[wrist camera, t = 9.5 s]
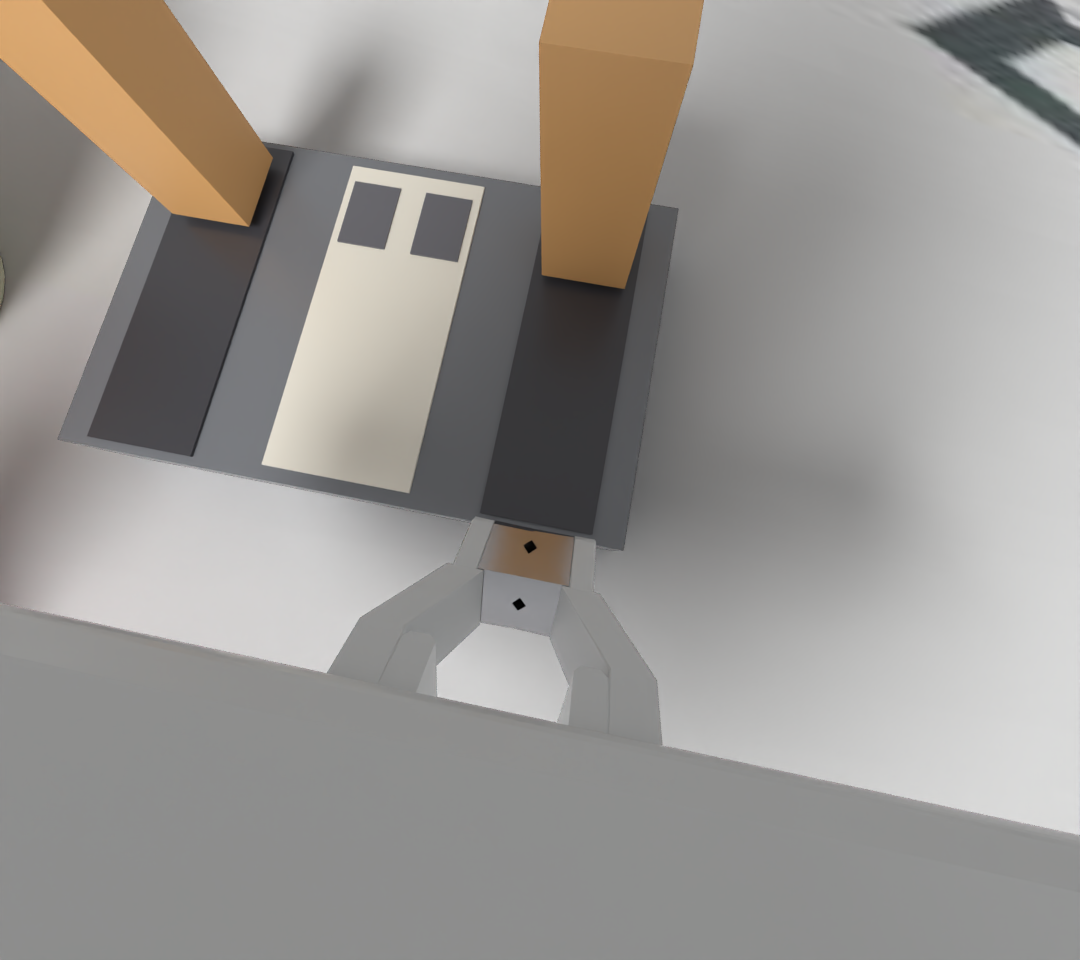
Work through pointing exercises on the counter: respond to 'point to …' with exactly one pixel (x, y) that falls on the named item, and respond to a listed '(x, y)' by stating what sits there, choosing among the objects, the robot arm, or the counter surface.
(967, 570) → the counter surface
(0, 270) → the reusable coffee cup
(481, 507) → the switch panel
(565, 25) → the slider
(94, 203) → the counter surface
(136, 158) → the slider
